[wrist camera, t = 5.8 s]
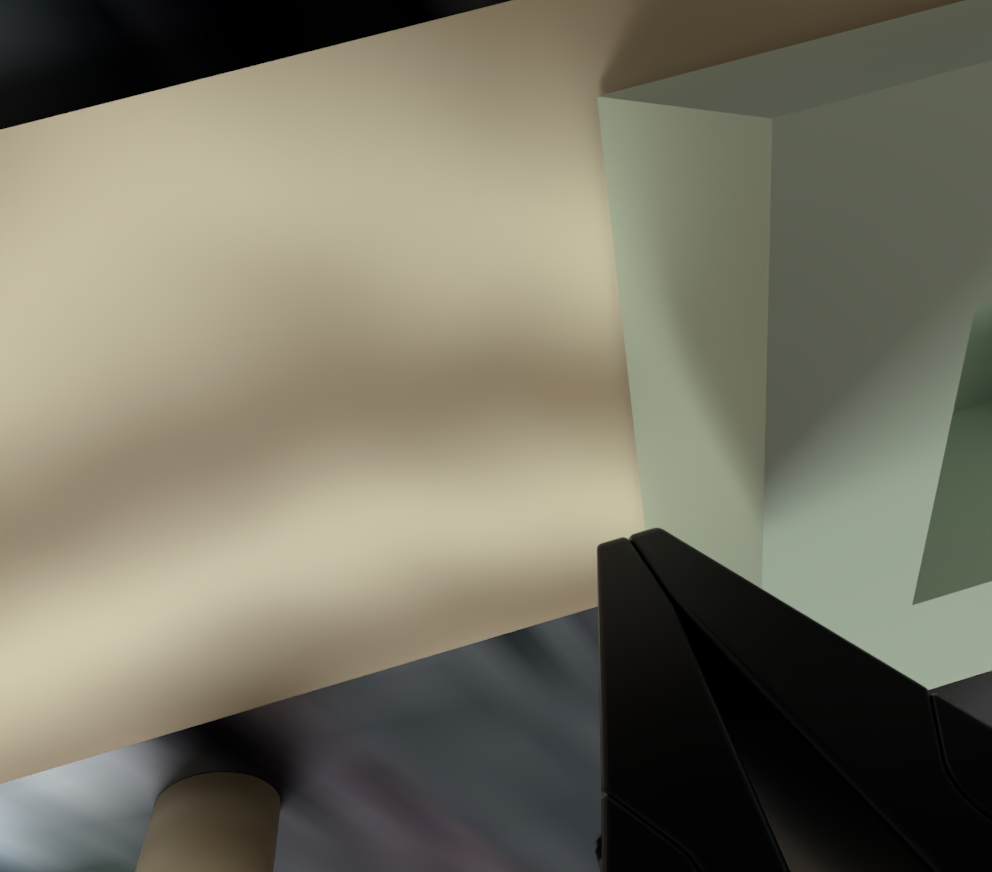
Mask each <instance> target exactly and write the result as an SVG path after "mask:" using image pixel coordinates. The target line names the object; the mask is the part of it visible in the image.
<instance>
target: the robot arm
mask: <svg viewBox="0 0 992 872" xmlns="http://www.w3.org/2000/svg"><path fill="white" fill-rule="evenodd" d="M597 594H598V646H599V699H600V751H601V792H602V796H603V797H602V799H601V825H602V844H601V845H600V846H598V847H597V849H596V851H595V853H596V856H597V860H598V864H599V868H600V871H601V872H992V726H990V725H988V724H987V723H985V722H983V721H981V720H980V719H978V718H976V717H974V716H973V715H971V714H969V713H968V712H966V711H964V710H963V709H961V708H960V707H958V706H956V705H955V704H953V703H951V702H950V701H948V700H946V699H945V698H943V697H941V696H940V695H938V694H932V695H930V694H929V691H928V689H927V688H926V687H924V686H922V685H921V684H919V683H917V682H916V681H914V680H912V679H911V678H909V677H907V676H906V675H904V674H903V673H901V672H899V671H898V670H896V669H894V668H893V667H891V666H889V665H888V664H886V663H884V662H883V661H881V660H879V659H878V658H876V657H874V656H873V655H871V654H869V653H868V652H866V651H864V650H863V649H861V648H859V647H858V646H856V645H854V644H853V643H851V642H849V641H848V640H846V639H844V638H843V637H841V636H839V635H838V634H836V633H834V632H833V631H831V630H830V629H828V628H826V627H825V626H823V625H821V624H820V623H818V622H816V621H815V620H813V619H811V618H810V617H808V616H806V615H805V614H803V613H801V612H800V611H798V610H796V609H795V608H793V607H791V606H790V605H788V604H786V603H785V602H783V601H781V600H780V599H778V598H776V597H775V596H773V595H771V594H770V593H768V592H766V591H765V590H763V589H761V588H760V587H758V586H757V585H755V584H753V583H752V582H750V581H748V580H747V579H745V578H743V577H742V576H740V575H738V574H737V573H735V572H733V571H732V570H730V569H728V568H727V567H725V566H723V565H722V564H720V563H718V562H717V561H715V560H713V559H712V558H710V557H708V556H707V555H705V554H703V553H702V552H700V551H698V550H697V549H695V548H693V547H692V546H690V545H688V544H687V543H685V542H684V541H682V540H680V539H679V538H677V537H675V536H674V535H672V534H670V533H669V532H667V531H665V530H663V529H661V528H652V529H648V530H645V531H642V532H638V533H635V534H632V535H631V536H630V537H629V539H627V538H625V537H621V538H618V539H614V540H611V541H607V542H604V543H601V544H599V545H598V547H597Z"/></svg>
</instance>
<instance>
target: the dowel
mask: <svg viewBox="0 0 992 872" xmlns="http://www.w3.org/2000/svg"><path fill="white" fill-rule="evenodd" d="M280 806H281V801H280V797H279V794H278V793H277V791H276V790H275V789H274V788H273V787H272V786H271V785H270V784H269V783H267V782H265V781H264V780H262V779H259V778H257V777H254V776H251V775H247V774H242V773H234V772H214V773H205V774H200V775H196V776H192V777H189V778H186V779H183V780H181V781H179V782H176V783H175V784H173V785H171V786H170V787H168V788H167V789H166V790H164V791H163V792H162V793H161V794H160V796H159V797H158V798H157V800H156V802H155V804H154V808H153V811H152V815H151V818H150V822H149V825H148V829H147V833H146V836H145V840H144V843H143V847H142V850H141V854H140V857H139V861H138V864H137V868H136V871H135V872H273V868H274V859H275V850H276V841H277V832H278V823H279V814H280Z"/></svg>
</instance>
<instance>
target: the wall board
mask: <svg viewBox="0 0 992 872" xmlns="http://www.w3.org/2000/svg"><path fill="white" fill-rule="evenodd" d="M960 1H964V0H512V1H508V2H504V3H500V4H496V5H492V6H488V7H484V8H480V9H476V10H472V11H468V12H464V13H460V14H456V15H452V16H448V17H444V18H440V19H436V20H433V21H429V22H425V23H421V24H417V25H413V26H409V27H405V28H401V29H397V30H393V31H389V32H385V33H381V34H377V35H373V36H369V37H365V38H361V39H357V40H353V41H349V42H346V43H342V44H338V45H334V46H330V47H326V48H322V49H318V50H314V51H310V52H306V53H302V54H298V55H294V56H290V57H286V58H282V59H278V60H274V61H270V62H266V63H262V64H258V65H255V66H251V67H247V68H243V69H239V70H235V71H231V72H227V73H223V74H219V75H215V76H211V77H207V78H203V79H199V80H195V81H191V82H187V83H183V84H179V85H175V86H171V87H168V88H164V89H160V90H156V91H152V92H148V93H144V94H140V95H136V96H132V97H128V98H124V99H120V100H116V101H112V102H108V103H104V104H100V105H96V106H92V107H88V108H84V109H80V110H77V111H73V112H69V113H65V114H61V115H57V116H53V117H49V118H45V119H41V120H37V121H33V122H29V123H25V124H21V125H17V126H13V127H9V128H5V129H1V130H0V784H1V783H4V782H8V781H11V780H15V779H18V778H21V777H25V776H28V775H31V774H35V773H38V772H41V771H45V770H48V769H52V768H55V767H58V766H62V765H65V764H68V763H72V762H75V761H79V760H82V759H85V758H89V757H92V756H95V755H99V754H102V753H105V752H109V751H112V750H116V749H119V748H122V747H126V746H129V745H132V744H136V743H139V742H142V741H146V740H149V739H153V738H156V737H159V736H163V735H166V734H169V733H173V732H176V731H179V730H183V729H186V728H190V727H193V726H196V725H200V724H203V723H206V722H210V721H213V720H216V719H220V718H223V717H227V716H230V715H233V714H237V713H240V712H243V711H247V710H250V709H253V708H257V707H260V706H264V705H267V704H270V703H274V702H277V701H280V700H284V699H287V698H291V697H294V696H297V695H301V694H304V693H307V692H311V691H314V690H317V689H321V688H324V687H328V686H331V685H334V684H338V683H341V682H344V681H348V680H351V679H354V678H358V677H361V676H365V675H368V674H371V673H375V672H378V671H381V670H385V669H388V668H391V667H395V666H398V665H402V664H405V663H408V662H412V661H415V660H418V659H422V658H425V657H428V656H432V655H435V654H439V653H442V652H445V651H449V650H452V649H455V648H459V647H462V646H465V645H469V644H472V643H476V642H479V641H482V640H486V639H489V638H492V637H496V636H499V635H502V634H506V633H509V632H513V631H516V630H519V629H523V628H526V627H529V626H533V625H536V624H540V623H543V622H546V621H550V620H553V619H556V618H560V617H563V616H566V615H570V614H573V613H577V612H580V611H583V610H587V609H590V608H593V607H597V606H598V594H597V547H598V545H599V544H601V543H604V542H607V541H611V540H614V539H618V538H621V537H625V538H627V539H629V537H630V536H631V535H632V534H635V533H638V532H642V531H645V522H644V513H643V505H642V496H641V487H640V478H639V469H638V460H637V451H636V442H635V433H634V424H633V415H632V406H631V397H630V388H629V379H628V370H627V361H626V352H625V343H624V334H623V325H622V316H621V307H620V298H619V289H618V280H617V271H616V262H615V253H614V244H613V235H612V226H611V217H610V208H609V199H608V191H607V182H606V173H605V164H604V155H603V146H602V137H601V128H600V119H599V110H598V101H597V96H600V95H604V94H608V93H612V92H616V91H620V90H623V89H627V88H631V87H635V86H639V85H643V84H646V83H650V82H654V81H658V80H662V79H666V78H669V77H673V76H677V75H681V74H685V73H689V72H692V71H696V70H700V69H704V68H708V67H712V66H715V65H719V64H723V63H727V62H731V61H735V60H738V59H742V58H746V57H750V56H754V55H757V54H761V53H765V52H769V51H773V50H777V49H780V48H784V47H788V46H792V45H796V44H800V43H803V42H807V41H811V40H815V39H819V38H823V37H826V36H830V35H834V34H838V33H842V32H846V31H849V30H853V29H857V28H861V27H865V26H869V25H872V24H876V23H880V22H884V21H888V20H892V19H895V18H899V17H903V16H907V15H911V14H914V13H918V12H922V11H926V10H930V9H934V8H937V7H941V6H945V5H949V4H953V3H957V2H960Z"/></svg>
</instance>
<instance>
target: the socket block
mask: <svg viewBox="0 0 992 872" xmlns="http://www.w3.org/2000/svg"><path fill="white" fill-rule="evenodd" d="M597 101H598V110H599V119H600V128H601V137H602V146H603V155H604V164H605V173H606V182H607V191H608V199H609V208H610V217H611V226H612V235H613V244H614V253H615V262H616V271H617V280H618V289H619V298H620V307H621V316H622V325H623V334H624V343H625V352H626V361H627V370H628V379H629V388H630V397H631V406H632V415H633V424H634V433H635V442H636V451H637V460H638V469H639V478H640V487H641V496H642V505H643V513H644V522H645V530H648V529H652V528H661V529H663V530H665V531H667V532H669V533H670V534H672V535H674V536H675V537H677V538H679V539H680V540H682V541H684V542H685V543H687V544H688V545H690V546H692V547H693V548H695V549H697V550H698V551H700V552H702V553H703V554H705V555H707V556H708V557H710V558H712V559H713V560H715V561H717V562H718V563H720V564H722V565H723V566H725V567H727V568H728V569H730V570H732V571H733V572H735V573H737V574H738V575H740V576H742V577H743V578H745V579H747V580H748V581H750V582H752V583H753V584H755V585H757V586H758V587H760V588H761V589H763V590H765V591H766V592H768V593H770V594H771V595H773V596H775V597H776V598H778V599H780V600H781V601H783V602H785V603H786V604H788V605H790V606H791V607H793V608H795V609H796V610H798V611H800V612H801V613H803V614H805V615H806V616H808V617H810V618H811V619H813V620H815V621H816V622H818V623H820V624H821V625H823V626H825V627H826V628H828V629H830V630H831V631H833V632H834V633H836V634H838V635H839V636H841V637H843V638H844V639H846V640H848V641H849V642H851V643H853V644H854V645H856V646H858V647H859V648H861V649H863V650H864V651H866V652H868V653H869V654H871V655H873V656H874V657H876V658H878V659H879V660H881V661H883V662H884V663H886V664H888V665H889V666H891V667H893V668H894V669H896V670H898V671H899V672H901V673H903V674H904V675H906V676H907V677H909V678H911V679H912V680H914V681H916V682H917V683H919V684H921V685H922V686H924V687H926V688H927V689H928V690H930V689H933V688H937V687H940V686H943V685H946V684H949V683H953V682H956V681H959V680H962V679H966V678H969V677H972V676H975V675H978V674H982V673H985V672H988V671H991V670H992V0H964V1H960V2H957V3H953V4H949V5H945V6H941V7H937V8H934V9H930V10H926V11H922V12H918V13H914V14H911V15H907V16H903V17H899V18H895V19H892V20H888V21H884V22H880V23H876V24H872V25H869V26H865V27H861V28H857V29H853V30H849V31H846V32H842V33H838V34H834V35H830V36H826V37H823V38H819V39H815V40H811V41H807V42H803V43H800V44H796V45H792V46H788V47H784V48H780V49H777V50H773V51H769V52H765V53H761V54H757V55H754V56H750V57H746V58H742V59H738V60H735V61H731V62H727V63H723V64H719V65H715V66H712V67H708V68H704V69H700V70H696V71H692V72H689V73H685V74H681V75H677V76H673V77H669V78H666V79H662V80H658V81H654V82H650V83H646V84H643V85H639V86H635V87H631V88H627V89H623V90H620V91H616V92H612V93H608V94H604V95H600V96H597Z"/></svg>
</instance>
